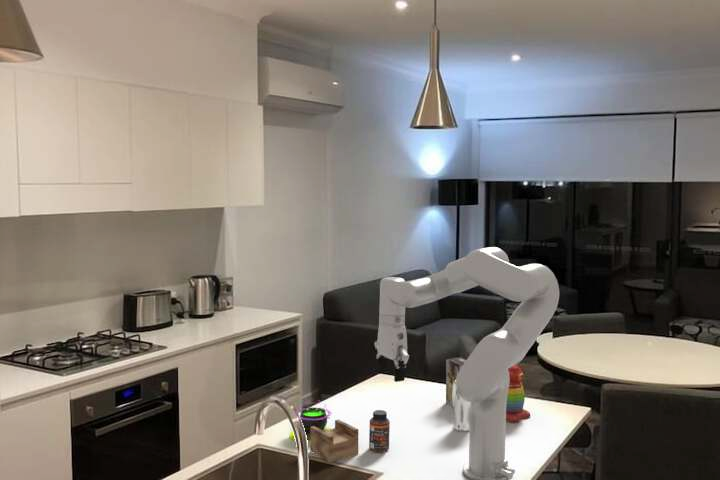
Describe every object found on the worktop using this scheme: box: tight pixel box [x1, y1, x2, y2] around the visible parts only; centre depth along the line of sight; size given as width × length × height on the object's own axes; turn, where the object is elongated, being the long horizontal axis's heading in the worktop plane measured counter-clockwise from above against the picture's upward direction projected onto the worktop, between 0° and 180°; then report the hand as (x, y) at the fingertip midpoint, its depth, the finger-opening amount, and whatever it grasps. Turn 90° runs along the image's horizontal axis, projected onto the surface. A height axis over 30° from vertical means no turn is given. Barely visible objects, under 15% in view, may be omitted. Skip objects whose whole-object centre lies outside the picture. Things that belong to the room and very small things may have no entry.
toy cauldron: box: [288, 398, 333, 446], centre depth 206 cm, size 15×15×11 cm
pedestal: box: [309, 419, 359, 463], centre depth 192 cm, size 10×10×7 cm
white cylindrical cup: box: [452, 380, 471, 433], centre depth 212 cm, size 7×7×15 cm
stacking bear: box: [506, 364, 531, 424], centre depth 223 cm, size 11×10×18 cm
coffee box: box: [445, 356, 467, 407], centre depth 233 cm, size 9×6×16 cm
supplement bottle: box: [368, 409, 391, 454], centre depth 195 cm, size 6×6×11 cm
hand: (390, 376), depth 196 cm, fingers open, 9 cm apart
